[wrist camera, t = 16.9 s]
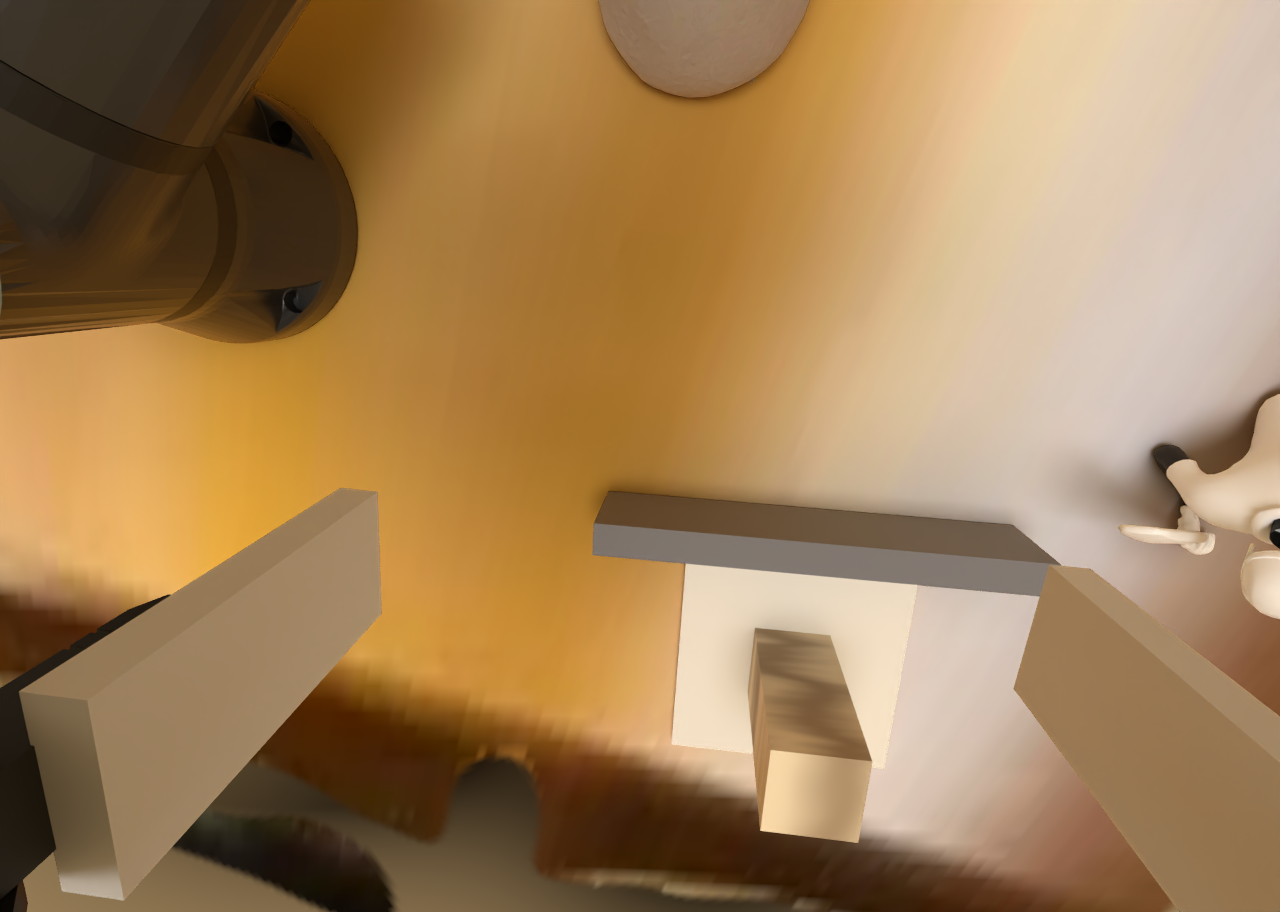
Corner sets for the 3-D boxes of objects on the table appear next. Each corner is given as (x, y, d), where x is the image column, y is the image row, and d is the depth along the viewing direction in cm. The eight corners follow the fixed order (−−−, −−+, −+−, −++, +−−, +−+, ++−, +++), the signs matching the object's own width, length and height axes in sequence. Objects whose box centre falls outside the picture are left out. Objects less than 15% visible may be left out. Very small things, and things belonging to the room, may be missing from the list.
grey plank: (607, 518, 45) (592, 555, 39) (608, 491, 44) (593, 523, 39) (1006, 554, 43) (1052, 597, 37) (1012, 524, 42) (1061, 564, 37)
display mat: (672, 735, 49) (671, 744, 48) (687, 546, 45) (686, 552, 44) (880, 758, 48) (883, 768, 47) (915, 567, 44) (919, 574, 43)
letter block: (747, 694, 46) (760, 833, 35) (754, 627, 45) (770, 749, 33) (820, 702, 46) (857, 845, 34) (830, 635, 44) (872, 761, 33)
